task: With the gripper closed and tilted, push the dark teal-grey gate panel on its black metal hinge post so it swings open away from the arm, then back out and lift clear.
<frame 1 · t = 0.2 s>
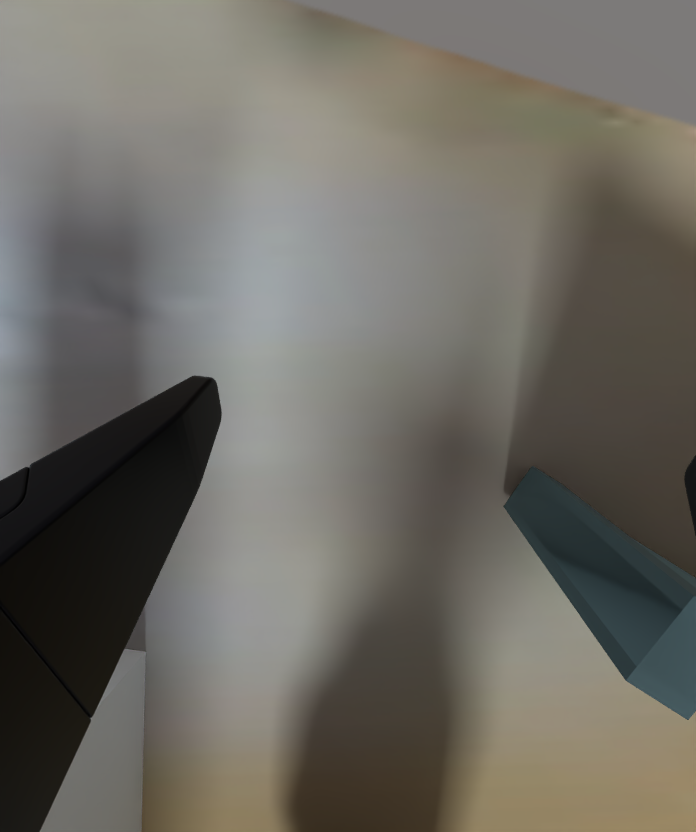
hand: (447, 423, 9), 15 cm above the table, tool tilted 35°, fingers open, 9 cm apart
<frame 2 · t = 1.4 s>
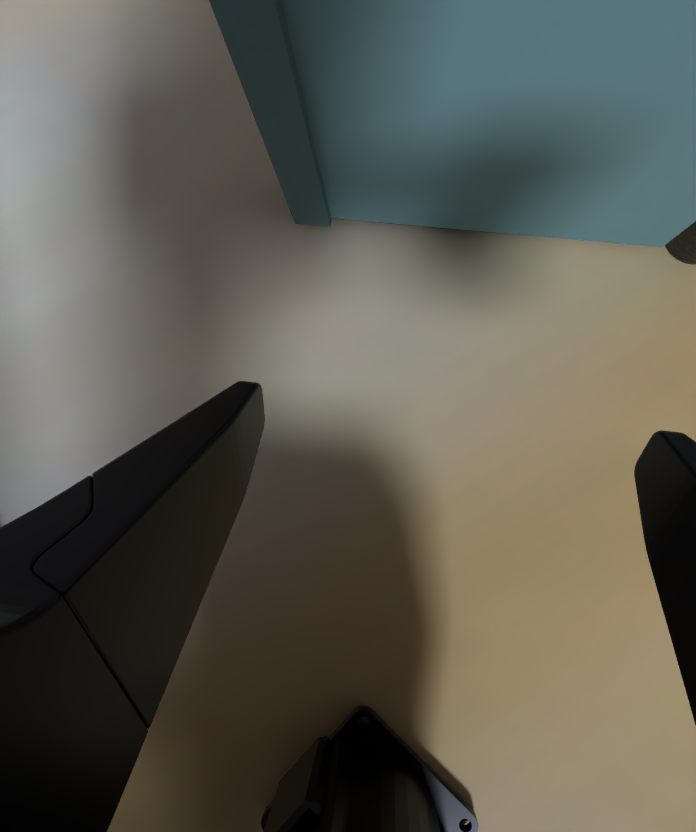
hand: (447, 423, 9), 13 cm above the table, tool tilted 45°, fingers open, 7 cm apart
gate post: (693, 237, 21), on the table
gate: (512, 109, 15), point 7 cm above the table, hinge at 0.0°
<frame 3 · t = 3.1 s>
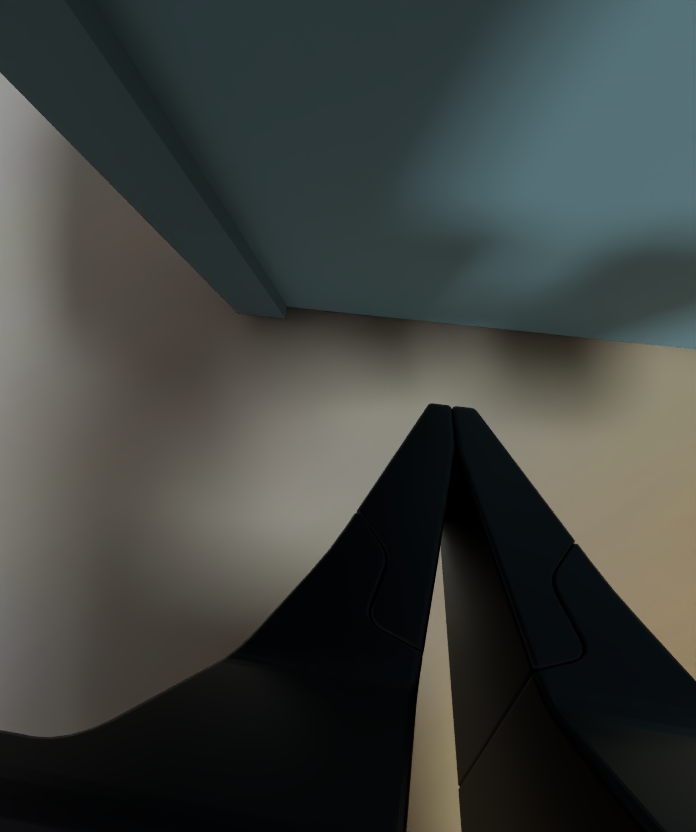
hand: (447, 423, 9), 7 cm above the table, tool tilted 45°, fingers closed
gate: (559, 188, 9), point 7 cm above the table, hinge at 0.0°
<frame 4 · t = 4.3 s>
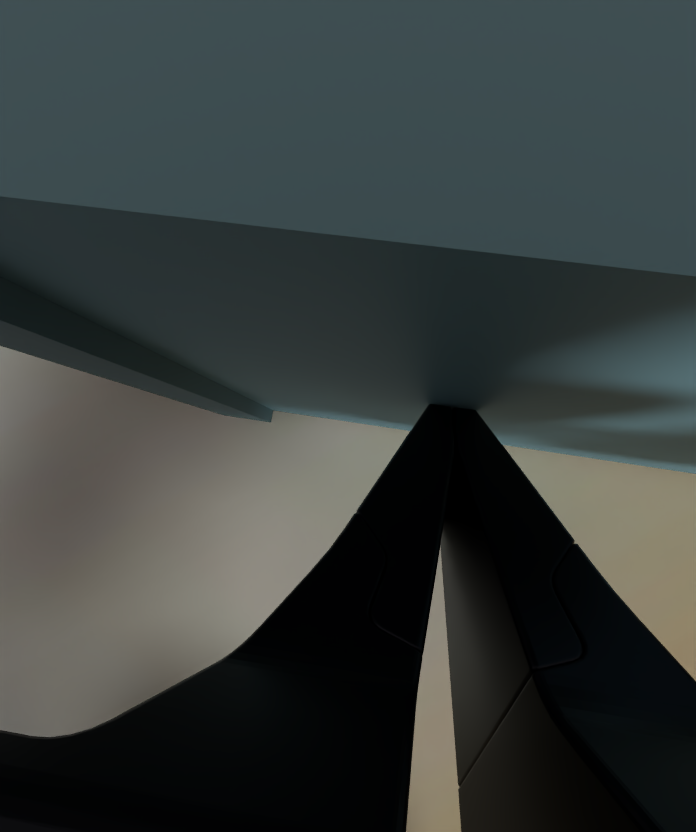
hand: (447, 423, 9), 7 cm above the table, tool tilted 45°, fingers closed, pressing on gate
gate: (539, 378, 9), point 7 cm above the table, hinge at 1.5°, touching gripper
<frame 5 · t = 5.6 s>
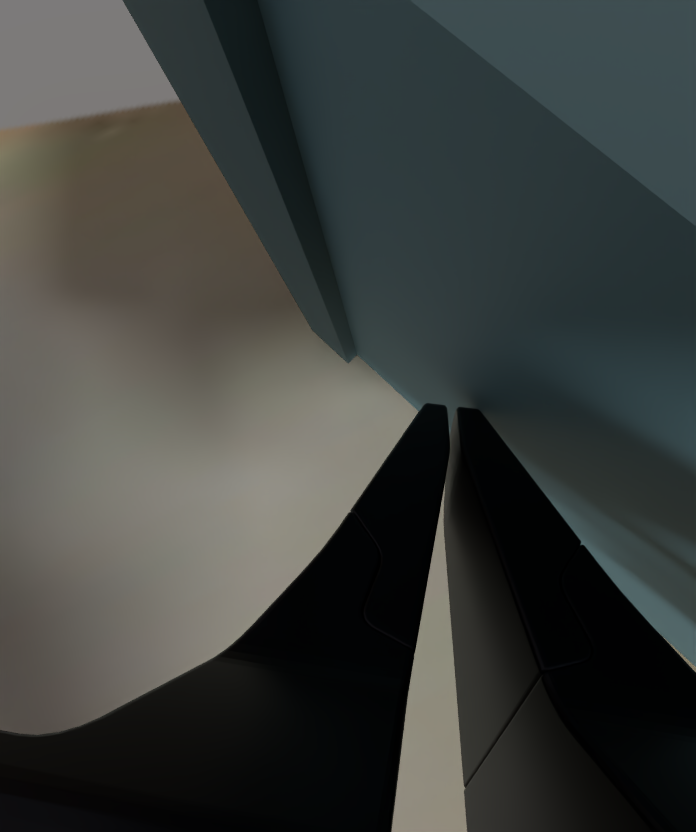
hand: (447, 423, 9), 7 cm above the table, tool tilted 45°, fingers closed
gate: (638, 490, 8), point 7 cm above the table, hinge at 36.5°
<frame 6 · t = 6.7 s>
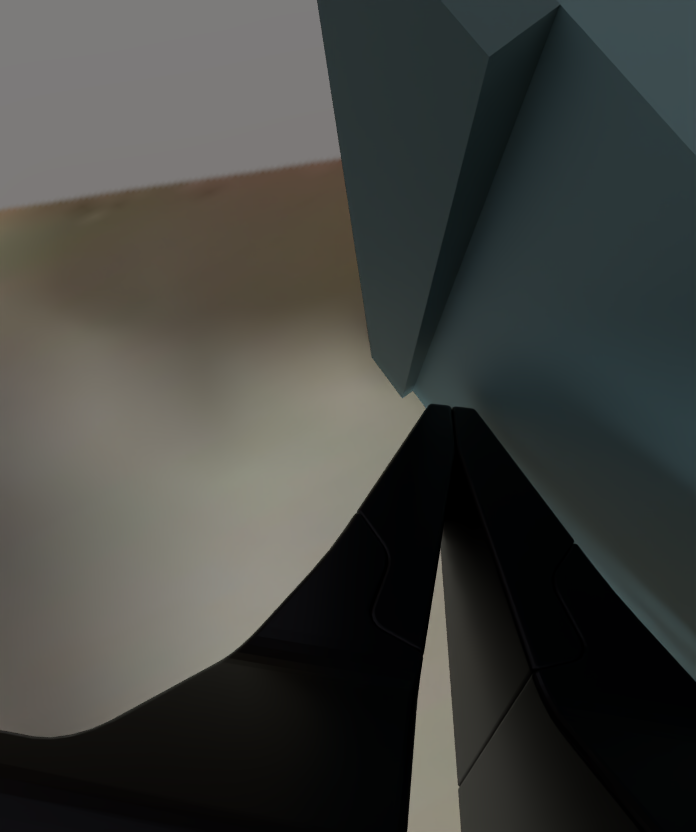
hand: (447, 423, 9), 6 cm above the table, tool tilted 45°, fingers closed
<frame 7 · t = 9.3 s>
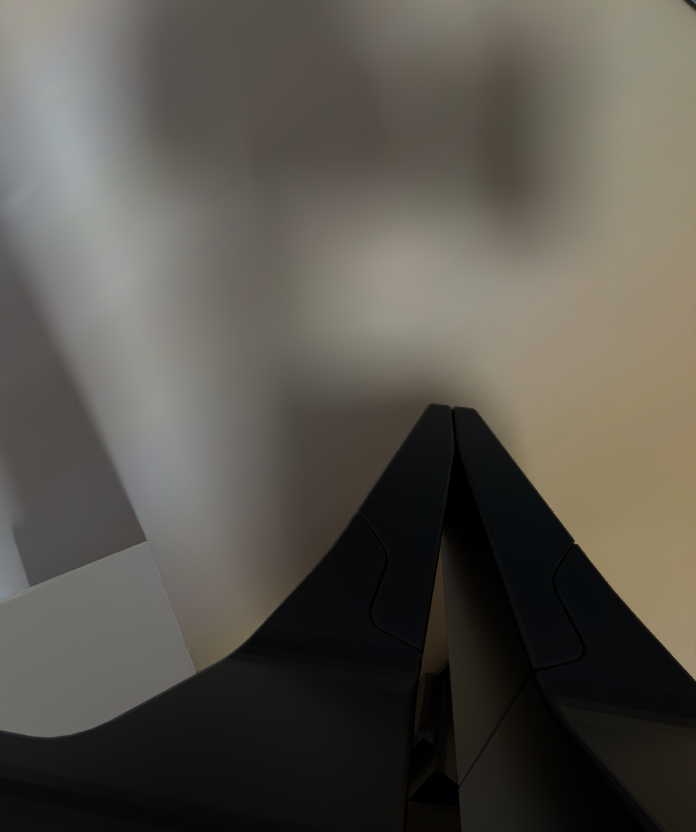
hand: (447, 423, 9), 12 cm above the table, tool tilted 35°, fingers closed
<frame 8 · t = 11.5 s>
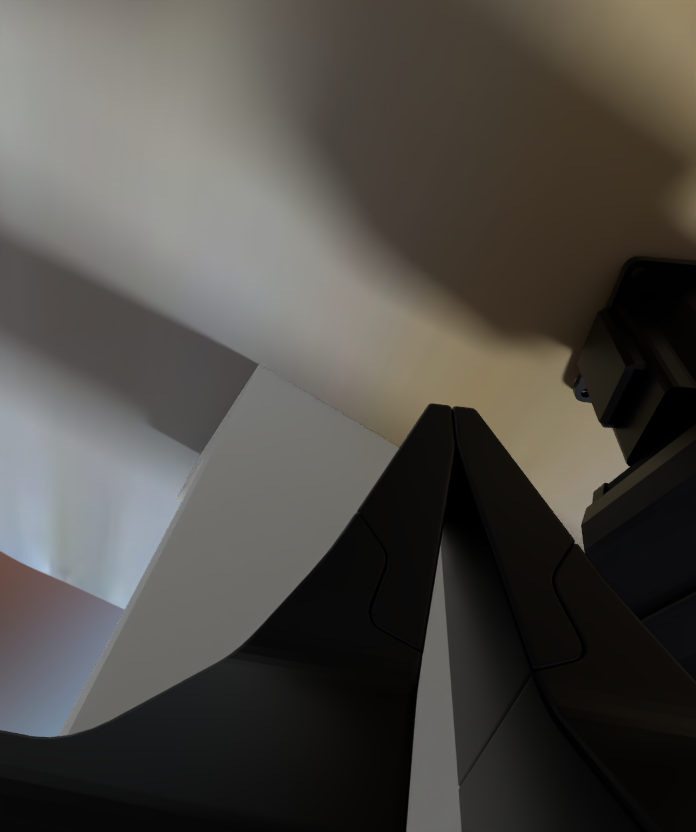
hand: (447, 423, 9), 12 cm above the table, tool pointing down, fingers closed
block: (476, 549, 31), on the table
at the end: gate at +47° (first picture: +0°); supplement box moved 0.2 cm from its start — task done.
